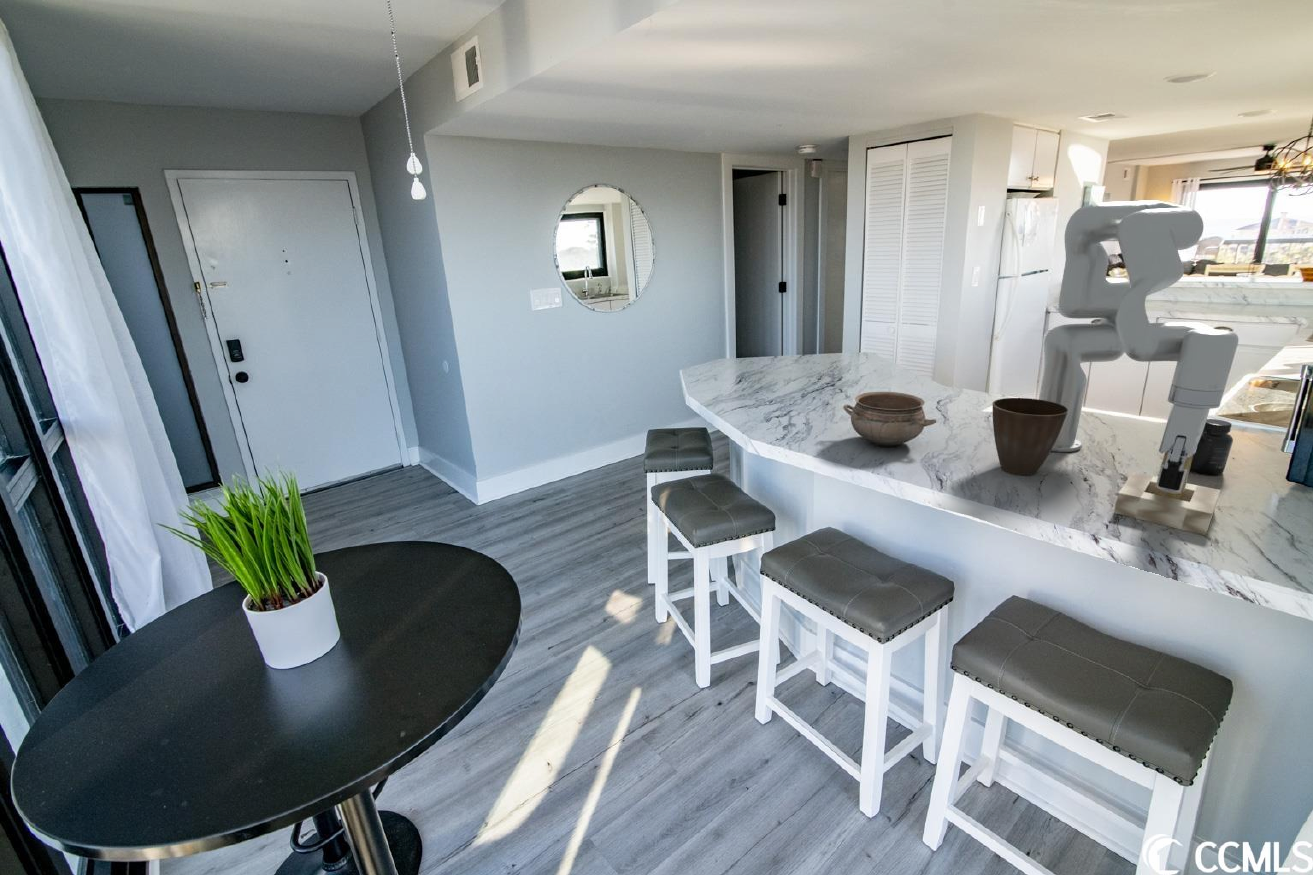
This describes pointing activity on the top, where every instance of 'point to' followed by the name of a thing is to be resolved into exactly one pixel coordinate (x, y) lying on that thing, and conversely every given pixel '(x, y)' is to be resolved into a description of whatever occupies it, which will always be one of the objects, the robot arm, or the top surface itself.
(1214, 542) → the top surface
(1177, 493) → the sprinkles bottle
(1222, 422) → the supplement bottle
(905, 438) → the cooking pot
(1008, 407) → the plant pot
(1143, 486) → the socket block
